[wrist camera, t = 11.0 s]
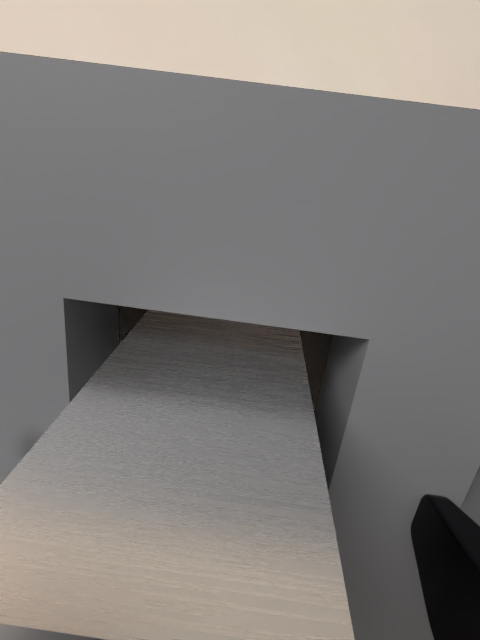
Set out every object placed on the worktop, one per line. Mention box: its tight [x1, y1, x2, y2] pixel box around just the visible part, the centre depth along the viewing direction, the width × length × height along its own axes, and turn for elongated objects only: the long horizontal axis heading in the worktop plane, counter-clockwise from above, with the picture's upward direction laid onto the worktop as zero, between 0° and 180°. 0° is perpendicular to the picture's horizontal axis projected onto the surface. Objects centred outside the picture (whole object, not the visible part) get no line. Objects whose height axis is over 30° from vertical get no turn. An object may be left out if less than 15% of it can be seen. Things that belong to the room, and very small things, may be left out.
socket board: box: [0, 52, 480, 640], centre depth 10 cm, size 14×20×3 cm
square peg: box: [0, 310, 355, 640], centre depth 8 cm, size 4×4×8 cm
